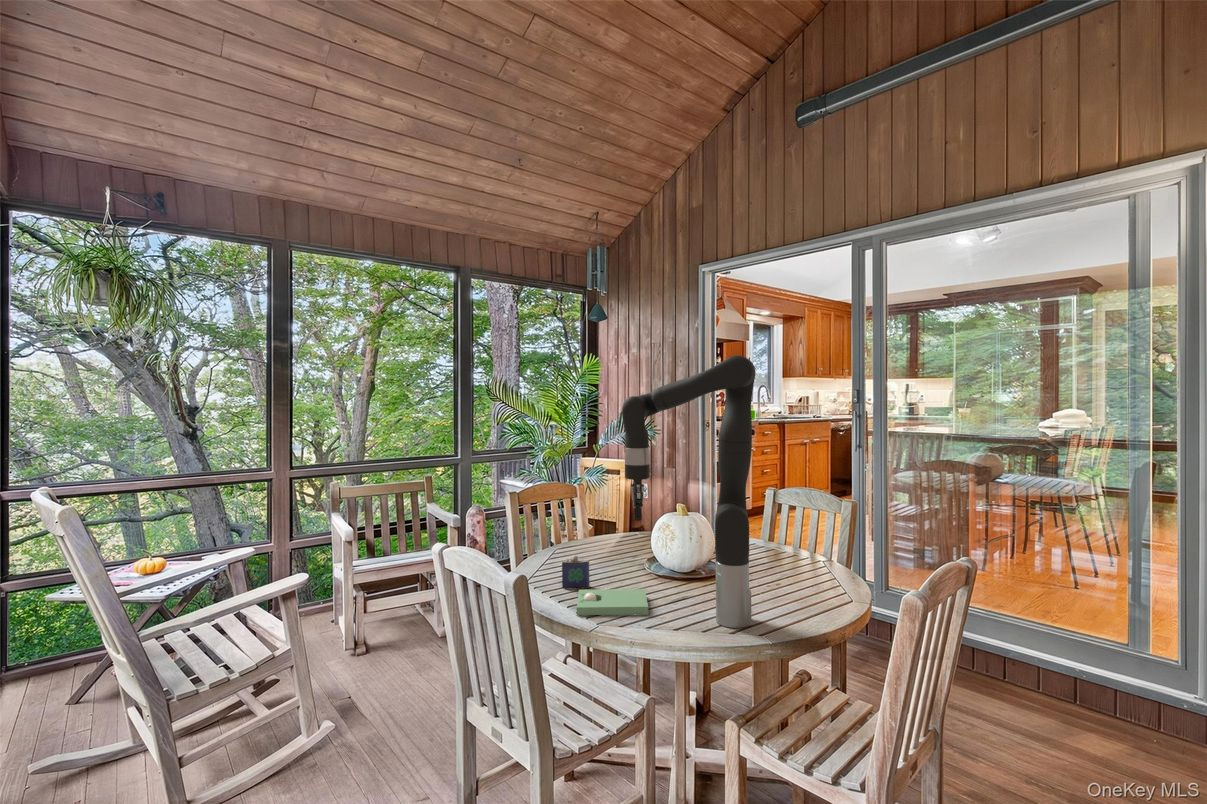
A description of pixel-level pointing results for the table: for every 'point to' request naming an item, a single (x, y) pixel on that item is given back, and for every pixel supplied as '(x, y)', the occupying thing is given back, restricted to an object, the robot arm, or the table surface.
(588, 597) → the ball
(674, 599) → the table surface
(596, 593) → the board
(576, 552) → the table surface
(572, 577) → the flask
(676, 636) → the table surface
